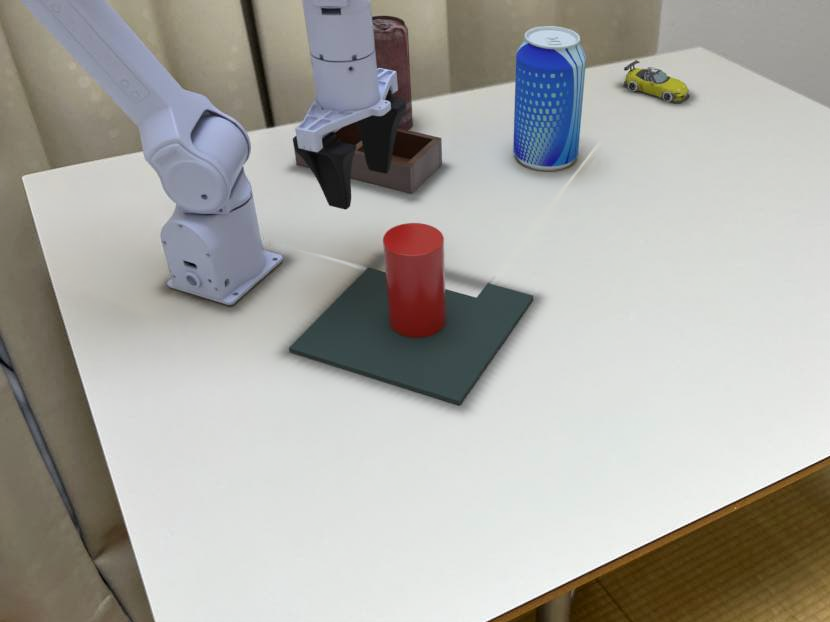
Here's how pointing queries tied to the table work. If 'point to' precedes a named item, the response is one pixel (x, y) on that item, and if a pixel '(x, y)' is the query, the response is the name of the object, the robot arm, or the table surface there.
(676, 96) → the toy car
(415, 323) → the can
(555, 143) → the beer can
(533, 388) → the table surface
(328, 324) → the mat
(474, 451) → the table surface
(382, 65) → the can
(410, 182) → the holder
